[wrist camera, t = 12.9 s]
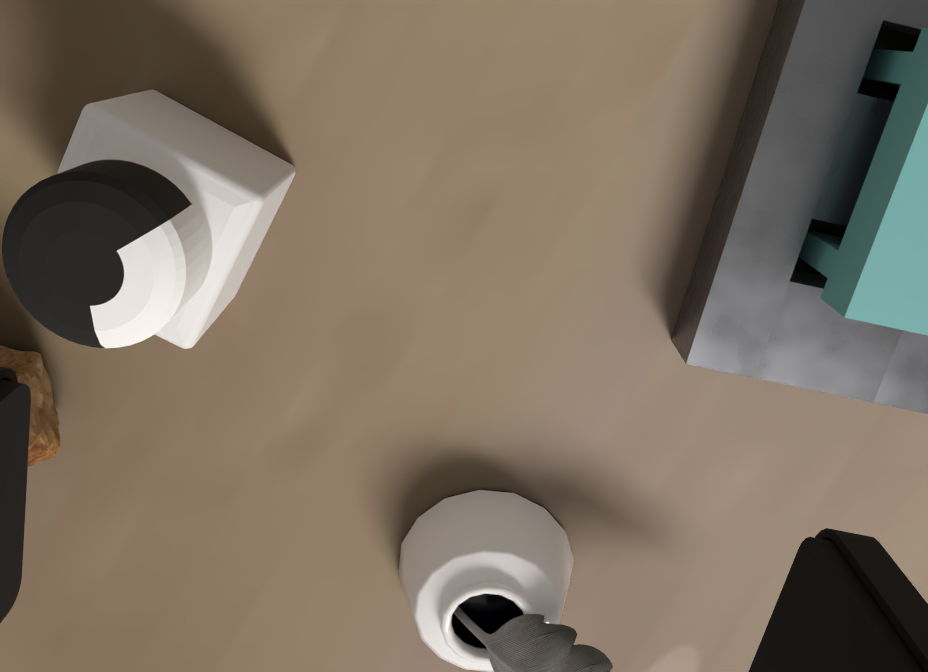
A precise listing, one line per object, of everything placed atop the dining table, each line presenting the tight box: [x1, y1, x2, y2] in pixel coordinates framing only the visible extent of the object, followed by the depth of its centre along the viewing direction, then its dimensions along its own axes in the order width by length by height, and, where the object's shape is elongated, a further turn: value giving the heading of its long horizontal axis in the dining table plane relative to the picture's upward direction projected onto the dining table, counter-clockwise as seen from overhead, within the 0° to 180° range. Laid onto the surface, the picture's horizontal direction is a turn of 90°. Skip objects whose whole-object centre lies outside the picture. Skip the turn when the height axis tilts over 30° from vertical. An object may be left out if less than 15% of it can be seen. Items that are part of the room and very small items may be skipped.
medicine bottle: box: [2, 89, 295, 349], centre depth 34 cm, size 7×7×12 cm
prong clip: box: [798, 28, 928, 335], centre depth 36 cm, size 4×11×6 cm, turn 168°
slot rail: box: [671, 0, 928, 414], centre depth 37 cm, size 12×20×3 cm, turn 168°
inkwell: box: [399, 490, 613, 672], centre depth 42 cm, size 9×18×10 cm, turn 72°
